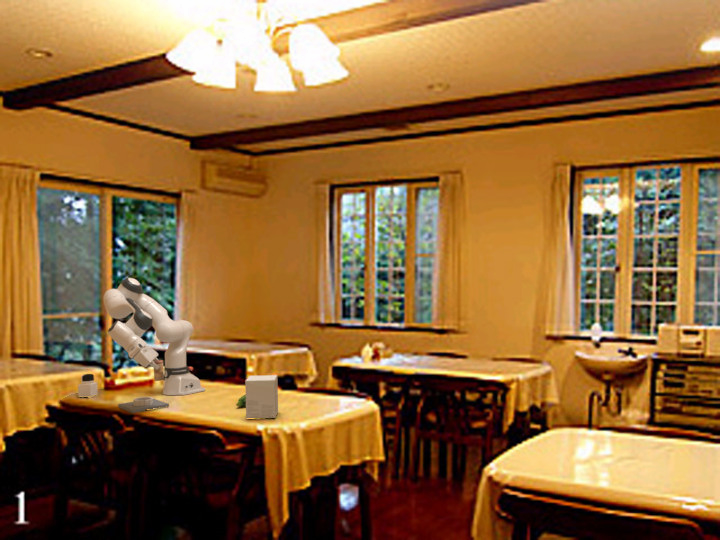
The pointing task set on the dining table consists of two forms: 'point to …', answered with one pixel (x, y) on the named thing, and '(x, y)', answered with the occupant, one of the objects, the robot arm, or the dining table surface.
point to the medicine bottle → (87, 386)
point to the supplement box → (261, 396)
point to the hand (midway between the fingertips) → (159, 367)
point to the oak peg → (159, 371)
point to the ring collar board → (141, 408)
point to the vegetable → (242, 401)
